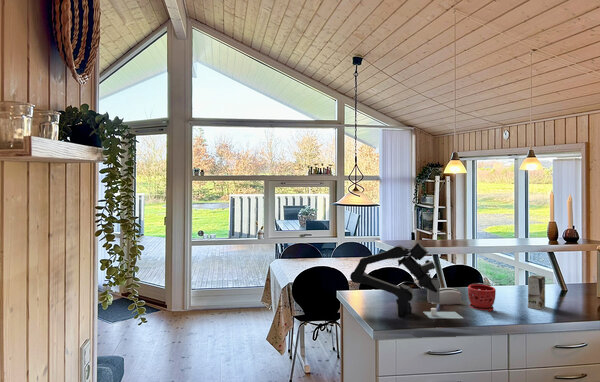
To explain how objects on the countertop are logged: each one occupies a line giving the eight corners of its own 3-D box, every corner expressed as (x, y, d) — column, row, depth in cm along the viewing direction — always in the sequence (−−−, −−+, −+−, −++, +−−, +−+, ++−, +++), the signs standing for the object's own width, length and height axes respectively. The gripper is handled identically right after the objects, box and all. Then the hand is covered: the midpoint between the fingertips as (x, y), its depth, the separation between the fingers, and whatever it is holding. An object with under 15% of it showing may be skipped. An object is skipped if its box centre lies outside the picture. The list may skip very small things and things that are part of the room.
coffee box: (541, 310, 217) (541, 278, 218) (527, 307, 222) (527, 277, 222) (545, 306, 224) (545, 276, 224) (532, 304, 228) (532, 274, 229)
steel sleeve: (428, 301, 201) (428, 279, 201) (427, 299, 206) (427, 277, 206) (439, 302, 199) (439, 280, 199) (438, 300, 204) (438, 278, 204)
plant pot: (462, 308, 220) (462, 285, 220) (481, 305, 225) (481, 283, 225) (482, 315, 208) (482, 290, 208) (501, 312, 213) (501, 288, 213)
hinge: (455, 301, 234) (459, 285, 231) (460, 306, 230) (463, 290, 226) (427, 302, 231) (430, 286, 228) (431, 307, 227) (434, 291, 224)
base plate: (429, 321, 197) (429, 311, 197) (422, 314, 208) (422, 305, 208) (463, 321, 197) (463, 311, 197) (455, 314, 208) (455, 305, 208)
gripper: (426, 258, 195) (451, 283, 192) (424, 252, 213) (447, 275, 210) (408, 274, 197) (432, 299, 194) (408, 267, 215) (430, 290, 212)
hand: (436, 290), depth 202 cm, fingers closed on steel sleeve, 5 cm apart
